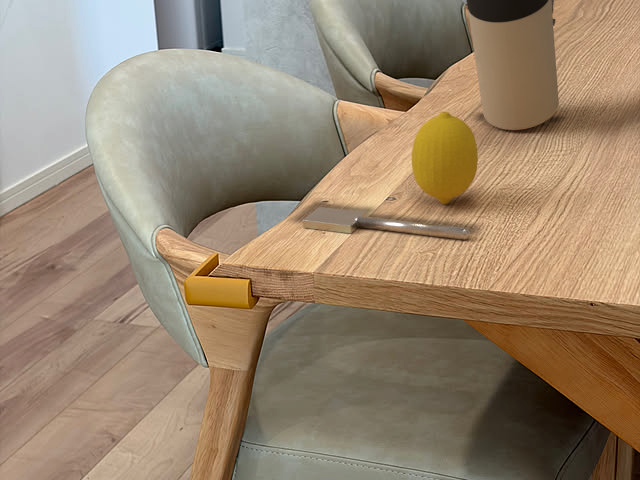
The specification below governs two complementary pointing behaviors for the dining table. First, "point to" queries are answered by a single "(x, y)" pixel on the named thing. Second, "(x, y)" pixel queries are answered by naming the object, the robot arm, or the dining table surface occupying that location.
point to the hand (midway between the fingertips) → (530, 88)
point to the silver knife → (375, 224)
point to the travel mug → (515, 61)
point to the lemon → (444, 157)
